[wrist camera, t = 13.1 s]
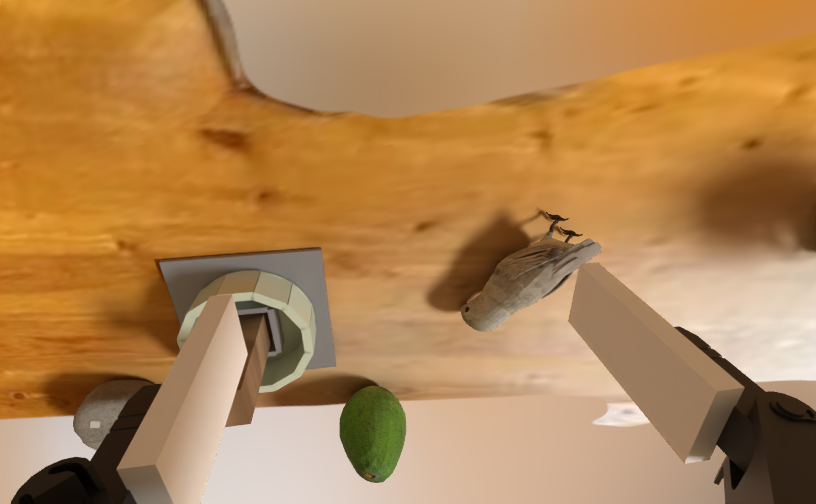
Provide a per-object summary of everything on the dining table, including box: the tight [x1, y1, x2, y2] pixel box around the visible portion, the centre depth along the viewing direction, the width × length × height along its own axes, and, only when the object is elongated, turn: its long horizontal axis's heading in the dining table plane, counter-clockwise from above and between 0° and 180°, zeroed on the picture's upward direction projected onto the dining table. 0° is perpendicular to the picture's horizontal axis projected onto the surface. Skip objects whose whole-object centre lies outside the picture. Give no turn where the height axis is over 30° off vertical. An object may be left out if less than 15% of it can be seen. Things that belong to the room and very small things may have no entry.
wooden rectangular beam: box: [225, 312, 272, 427], centre depth 39 cm, size 3×4×12 cm
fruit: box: [340, 386, 406, 483], centre depth 48 cm, size 8×8×12 cm
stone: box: [73, 379, 155, 450], centre depth 47 cm, size 9×9×10 cm
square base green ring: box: [159, 248, 336, 393], centre depth 43 cm, size 16×16×5 cm
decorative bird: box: [461, 212, 602, 331], centre depth 44 cm, size 5×16×7 cm, turn 135°
